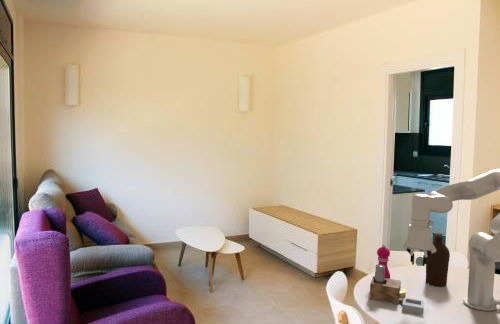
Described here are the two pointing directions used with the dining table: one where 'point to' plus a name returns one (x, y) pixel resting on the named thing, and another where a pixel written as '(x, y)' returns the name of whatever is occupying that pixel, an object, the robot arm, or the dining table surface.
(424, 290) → the dining table surface
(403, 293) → the tan wooden t-shaped piece
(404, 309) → the grey square tray
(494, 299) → the robot arm
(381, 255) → the pepper mill
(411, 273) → the dining table surface
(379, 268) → the grey cylinder
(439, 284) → the olive oil
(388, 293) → the socket block
